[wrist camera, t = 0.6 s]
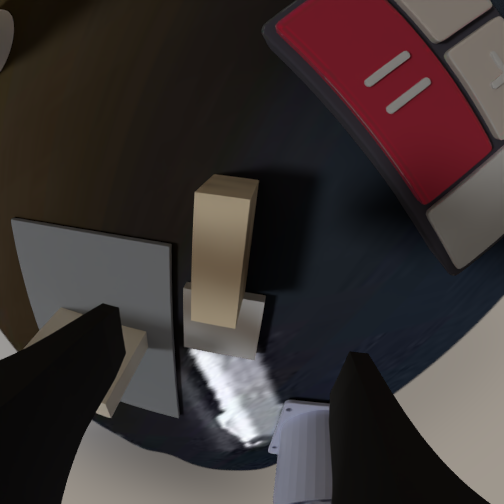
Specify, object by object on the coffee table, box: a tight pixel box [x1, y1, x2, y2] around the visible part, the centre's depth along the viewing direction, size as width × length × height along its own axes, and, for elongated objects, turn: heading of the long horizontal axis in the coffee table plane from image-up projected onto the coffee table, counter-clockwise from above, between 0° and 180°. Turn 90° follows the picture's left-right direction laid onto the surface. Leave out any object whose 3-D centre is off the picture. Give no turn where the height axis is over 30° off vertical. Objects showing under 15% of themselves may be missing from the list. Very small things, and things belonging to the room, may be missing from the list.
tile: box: [24, 307, 148, 418], centre depth 19 cm, size 2×8×7 cm, turn 84°
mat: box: [11, 218, 180, 418], centre depth 23 cm, size 18×14×1 cm
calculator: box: [262, 0, 504, 275], centre depth 12 cm, size 11×4×15 cm
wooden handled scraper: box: [183, 174, 266, 360], centre depth 18 cm, size 12×5×4 cm, turn 173°
